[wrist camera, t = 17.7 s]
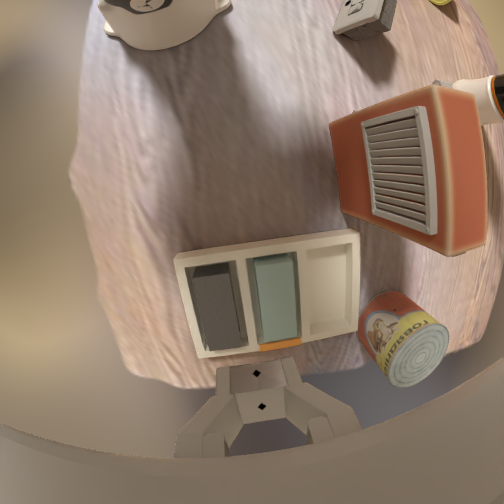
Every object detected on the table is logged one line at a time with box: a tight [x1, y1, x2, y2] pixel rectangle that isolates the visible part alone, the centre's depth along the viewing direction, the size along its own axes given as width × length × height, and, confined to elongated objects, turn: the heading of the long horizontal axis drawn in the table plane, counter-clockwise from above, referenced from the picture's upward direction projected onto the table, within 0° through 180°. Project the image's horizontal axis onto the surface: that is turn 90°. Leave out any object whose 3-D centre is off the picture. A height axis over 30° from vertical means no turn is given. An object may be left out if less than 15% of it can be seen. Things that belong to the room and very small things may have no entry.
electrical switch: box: [333, 0, 397, 41], centre depth 24 cm, size 9×5×9 cm, turn 160°
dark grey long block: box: [192, 262, 242, 351], centre depth 36 cm, size 11×4×4 cm, turn 7°
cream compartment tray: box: [173, 228, 360, 358], centre depth 37 cm, size 16×24×3 cm, turn 97°
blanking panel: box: [253, 253, 297, 342], centre depth 36 cm, size 11×4×4 cm, turn 7°
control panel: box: [329, 80, 487, 257], centre depth 25 cm, size 21×7×15 cm
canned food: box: [356, 290, 449, 388], centre depth 37 cm, size 11×11×12 cm
